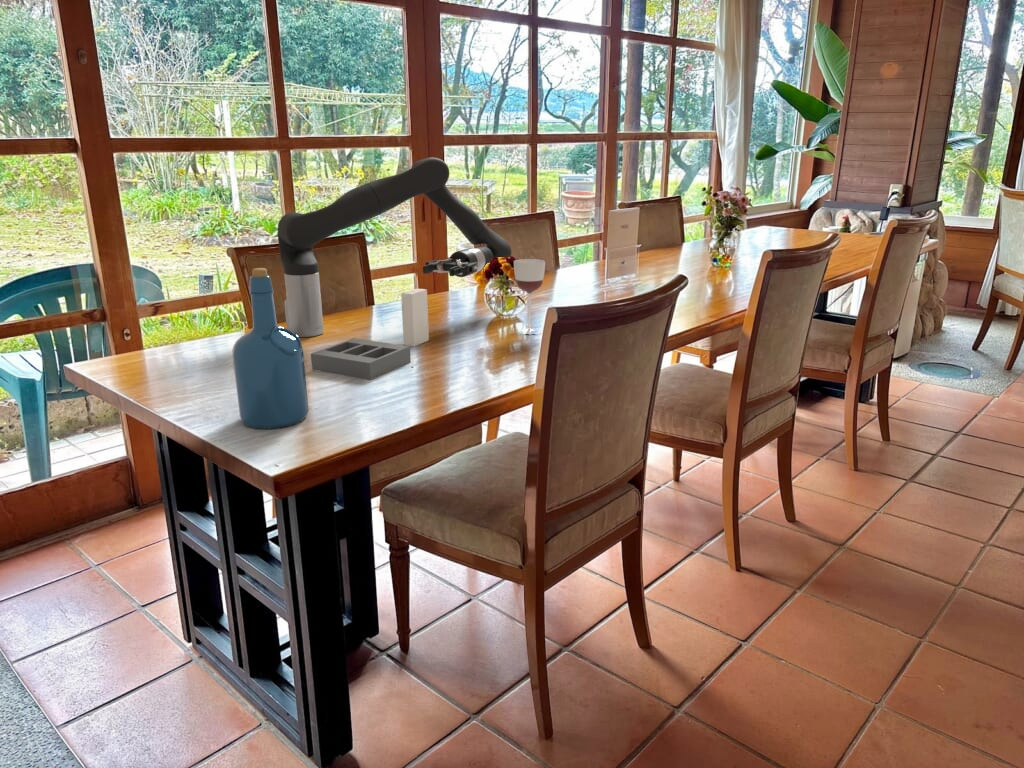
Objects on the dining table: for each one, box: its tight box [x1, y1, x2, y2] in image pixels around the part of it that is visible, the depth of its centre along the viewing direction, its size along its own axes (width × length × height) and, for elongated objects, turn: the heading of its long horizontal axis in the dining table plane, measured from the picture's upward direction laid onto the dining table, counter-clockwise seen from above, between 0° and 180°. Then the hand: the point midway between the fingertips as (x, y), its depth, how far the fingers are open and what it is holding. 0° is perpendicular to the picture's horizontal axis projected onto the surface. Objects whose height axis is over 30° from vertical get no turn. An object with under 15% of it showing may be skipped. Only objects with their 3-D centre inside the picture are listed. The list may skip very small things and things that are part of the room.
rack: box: [310, 337, 412, 381], centre depth 188 cm, size 17×16×4 cm
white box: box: [400, 288, 430, 347], centre depth 207 cm, size 3×7×14 cm, turn 152°
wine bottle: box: [231, 267, 310, 430], centre depth 150 cm, size 14×13×30 cm
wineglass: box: [513, 258, 546, 332], centre depth 217 cm, size 8×9×20 cm
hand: (437, 271), depth 213 cm, fingers open, 8 cm apart
